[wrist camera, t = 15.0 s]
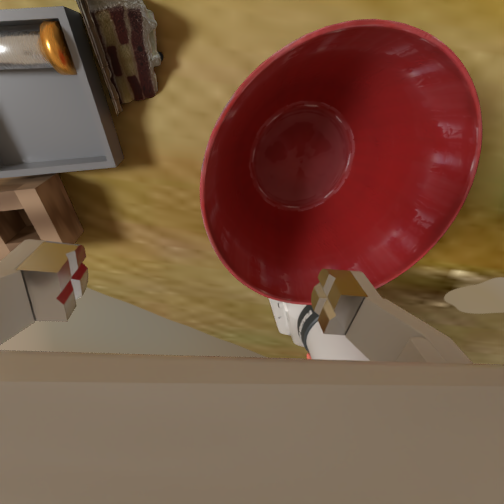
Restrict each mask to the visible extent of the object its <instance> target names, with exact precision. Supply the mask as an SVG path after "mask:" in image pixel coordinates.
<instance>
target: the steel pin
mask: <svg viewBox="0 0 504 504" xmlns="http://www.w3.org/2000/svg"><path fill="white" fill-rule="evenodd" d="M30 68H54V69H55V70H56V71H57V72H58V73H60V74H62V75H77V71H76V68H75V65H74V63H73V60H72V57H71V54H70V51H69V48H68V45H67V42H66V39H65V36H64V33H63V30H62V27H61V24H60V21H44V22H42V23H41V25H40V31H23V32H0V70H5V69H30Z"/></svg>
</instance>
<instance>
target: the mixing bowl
mask: <svg viewBox="0 0 504 504" xmlns="http://www.w3.org/2000/svg"><path fill="white" fill-rule="evenodd" d="M481 145H482V116H481V109H480V103H479V99H478V95H477V92H476V89H475V86H474V84H473V81H472V79H471V77H470V75H469V73H468V71H467V70H466V68H465V66H464V65H463V63H462V62H461V61H460V59H459V58H458V57H457V56H456V55H455V54H454V52H453V51H452V50H451V49H449V48H448V47H447V46H446V45H445V44H444V43H442V42H441V41H440V40H438V39H437V38H436V37H434V36H433V35H431V34H429V33H427V32H425V31H423V30H421V29H418V28H415V27H413V26H410V25H407V24H404V23H400V22H395V21H390V20H379V19H362V20H352V21H346V22H342V23H338V24H334V25H330V26H326V27H324V28H321V29H318V30H316V31H313V32H311V33H308V34H306V35H304V36H302V37H300V38H299V39H297V40H295V41H293V42H291V43H289V44H288V45H286V46H285V47H283V48H282V49H280V50H279V51H277V52H276V53H274V54H273V55H272V56H271V57H269V58H268V59H267V60H265V61H264V62H263V63H262V64H261V65H259V66H258V67H257V68H256V69H255V70H254V71H253V72H252V73H251V74H250V75H249V76H248V77H247V78H246V80H245V81H244V82H243V83H242V84H241V85H240V87H239V88H238V89H237V90H236V92H235V93H234V94H233V96H232V97H231V99H230V100H229V102H228V103H227V105H226V106H225V108H224V109H223V111H222V113H221V115H220V117H219V118H218V120H217V122H216V124H215V127H214V129H213V131H212V134H211V136H210V139H209V142H208V145H207V148H206V151H205V155H204V159H203V164H202V170H201V178H200V204H201V212H202V218H203V222H204V226H205V229H206V232H207V235H208V238H209V240H210V243H211V245H212V247H213V249H214V251H215V252H216V254H217V256H218V257H219V259H220V260H221V262H222V263H223V264H224V266H225V267H226V268H227V269H228V271H229V272H230V273H231V274H232V275H233V276H234V277H235V278H236V279H237V280H239V281H240V282H241V283H242V284H244V285H245V286H247V287H248V288H250V289H251V290H253V291H255V292H257V293H259V294H261V295H263V296H265V297H267V298H270V299H273V300H277V301H280V302H285V303H291V304H300V305H312V303H311V295H312V291H313V288H314V286H316V285H317V284H318V283H320V282H319V280H318V275H319V273H320V271H321V270H322V269H334V270H351V271H361V272H362V273H364V275H365V276H366V277H367V279H368V280H369V281H370V283H371V284H372V285H373V287H374V288H375V289H377V288H379V287H381V286H383V285H385V284H386V283H388V282H390V281H391V280H393V279H395V278H396V277H398V276H399V275H401V274H402V273H404V272H405V271H407V270H408V269H409V268H410V267H412V266H413V265H414V264H415V263H417V262H418V261H419V260H420V259H421V258H422V257H423V256H424V255H425V254H426V253H427V252H428V251H429V250H430V249H431V248H432V247H433V246H434V245H435V244H436V243H437V242H438V241H439V239H440V238H441V237H442V236H443V235H444V234H445V232H446V231H447V230H448V228H449V227H450V225H451V224H452V223H453V221H454V220H455V218H456V216H457V214H458V213H459V211H460V209H461V208H462V206H463V204H464V202H465V200H466V198H467V196H468V193H469V191H470V189H471V186H472V184H473V181H474V178H475V175H476V172H477V167H478V163H479V158H480V153H481Z"/></svg>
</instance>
